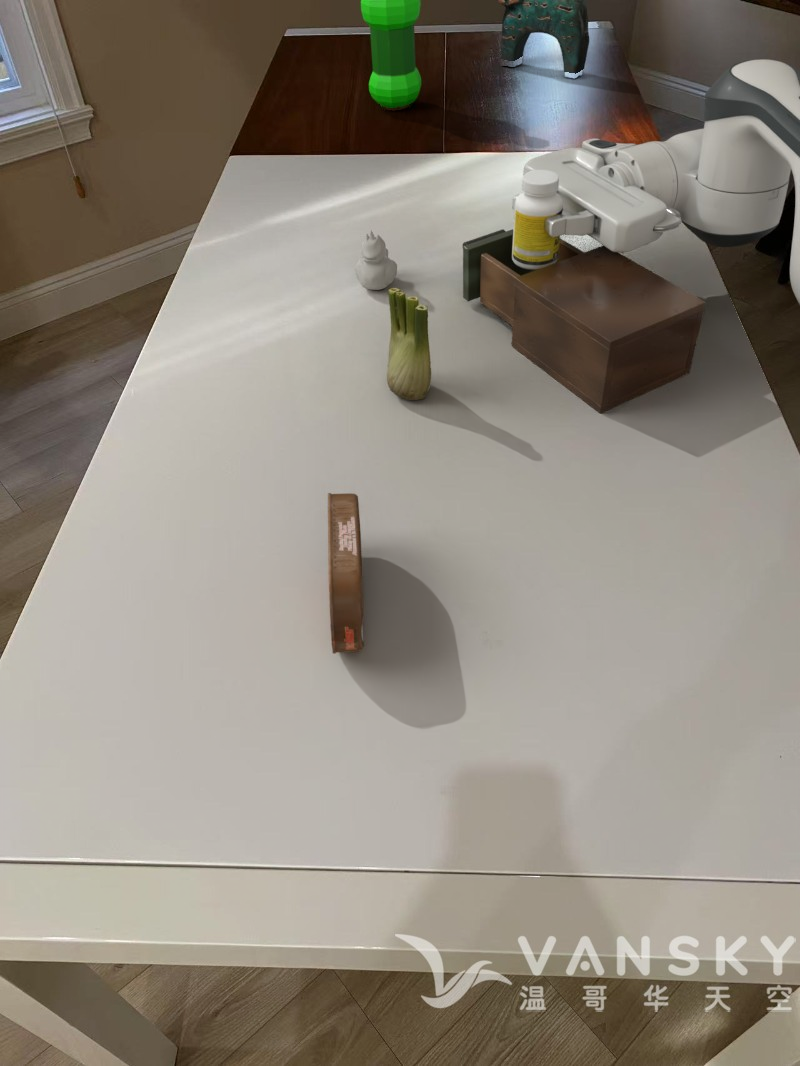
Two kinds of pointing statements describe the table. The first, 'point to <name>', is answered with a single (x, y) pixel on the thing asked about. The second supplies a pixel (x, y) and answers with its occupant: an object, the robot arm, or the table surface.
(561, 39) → the ceramic cat
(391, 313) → the fennel bulb
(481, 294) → the drawer
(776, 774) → the table surface
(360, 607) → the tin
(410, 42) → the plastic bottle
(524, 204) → the supplement bottle
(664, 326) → the cabinet
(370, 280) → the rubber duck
